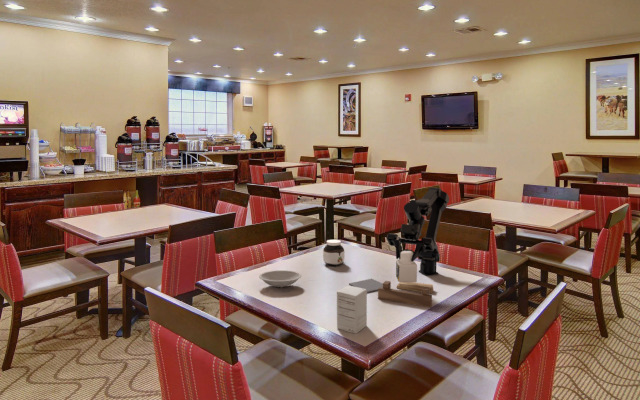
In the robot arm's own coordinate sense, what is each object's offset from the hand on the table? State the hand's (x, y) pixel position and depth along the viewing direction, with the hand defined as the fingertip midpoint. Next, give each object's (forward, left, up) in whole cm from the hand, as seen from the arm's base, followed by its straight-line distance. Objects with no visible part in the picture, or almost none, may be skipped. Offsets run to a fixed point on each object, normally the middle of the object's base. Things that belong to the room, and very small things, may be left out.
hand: (404, 259), depth 169 cm
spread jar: (+10, -49, -14) cm, 52 cm away
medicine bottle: (-2, -1, -9) cm, 9 cm away
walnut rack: (+4, +8, -13) cm, 16 cm away
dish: (+44, -25, -14) cm, 52 cm away
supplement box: (+33, +21, -14) cm, 41 cm away
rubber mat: (+9, -12, -13) cm, 20 cm away
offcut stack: (-7, -2, -13) cm, 15 cm away
